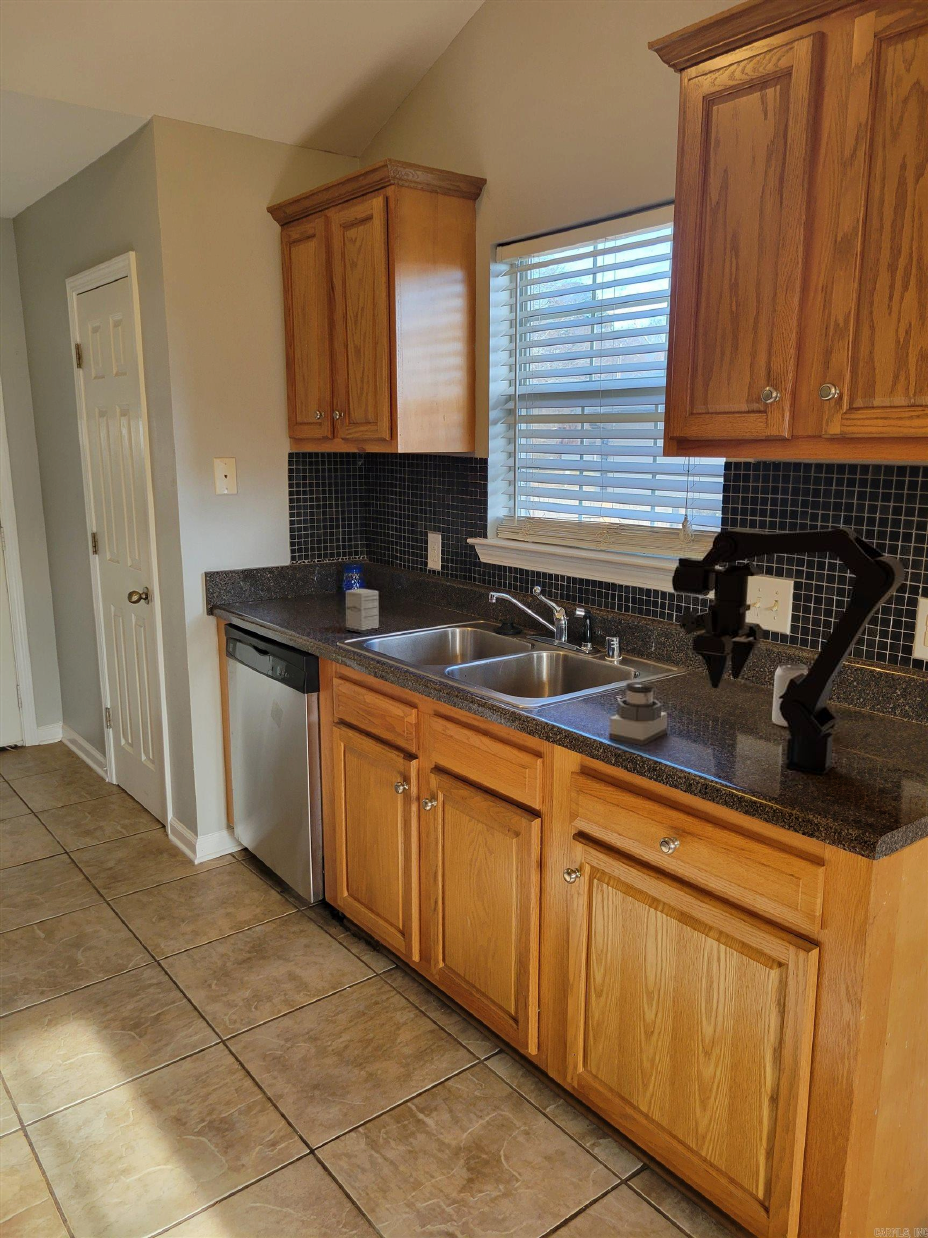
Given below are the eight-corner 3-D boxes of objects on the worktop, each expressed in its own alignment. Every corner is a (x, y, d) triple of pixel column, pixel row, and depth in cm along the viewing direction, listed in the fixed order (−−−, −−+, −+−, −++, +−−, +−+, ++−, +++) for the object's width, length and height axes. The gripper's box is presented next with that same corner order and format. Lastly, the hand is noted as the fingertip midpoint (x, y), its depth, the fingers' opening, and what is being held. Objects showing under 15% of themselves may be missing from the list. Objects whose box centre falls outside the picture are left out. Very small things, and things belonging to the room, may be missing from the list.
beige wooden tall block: (345, 631, 279) (344, 590, 277) (363, 627, 285) (362, 587, 283) (361, 634, 275) (361, 593, 272) (379, 631, 280) (379, 590, 278)
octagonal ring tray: (668, 733, 178) (669, 700, 177) (643, 745, 171) (645, 712, 169) (632, 725, 183) (633, 694, 182) (607, 737, 175) (608, 704, 174)
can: (778, 717, 190) (782, 660, 187) (810, 723, 186) (814, 665, 183) (766, 724, 185) (770, 666, 183) (798, 730, 181) (803, 671, 178)
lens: (657, 714, 177) (658, 684, 176) (644, 720, 173) (646, 690, 172) (633, 710, 180) (634, 680, 179) (620, 715, 176) (621, 685, 175)
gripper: (709, 588, 176) (705, 667, 179) (665, 600, 162) (662, 686, 165) (766, 594, 169) (761, 676, 172) (726, 607, 155) (721, 696, 158)
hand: (725, 683), depth 167 cm, fingers open, 9 cm apart
